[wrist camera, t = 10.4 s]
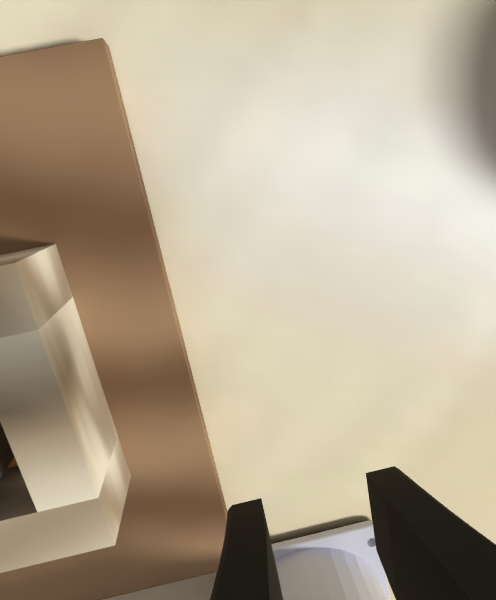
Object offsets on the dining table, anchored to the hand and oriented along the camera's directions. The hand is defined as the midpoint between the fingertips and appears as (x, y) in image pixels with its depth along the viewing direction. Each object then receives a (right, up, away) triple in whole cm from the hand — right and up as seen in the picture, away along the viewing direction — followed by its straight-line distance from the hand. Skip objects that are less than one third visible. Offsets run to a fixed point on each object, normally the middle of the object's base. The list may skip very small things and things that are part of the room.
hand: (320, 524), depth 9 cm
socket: (-12, +1, +9) cm, 15 cm away
